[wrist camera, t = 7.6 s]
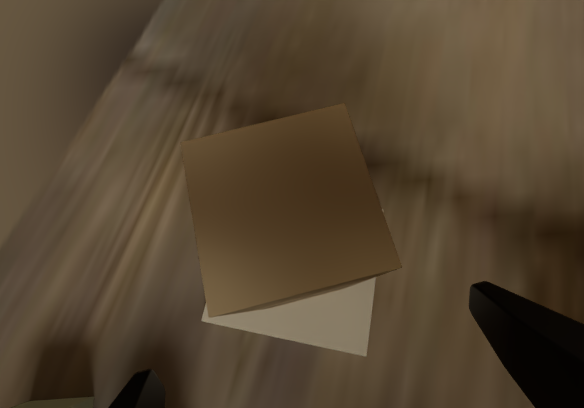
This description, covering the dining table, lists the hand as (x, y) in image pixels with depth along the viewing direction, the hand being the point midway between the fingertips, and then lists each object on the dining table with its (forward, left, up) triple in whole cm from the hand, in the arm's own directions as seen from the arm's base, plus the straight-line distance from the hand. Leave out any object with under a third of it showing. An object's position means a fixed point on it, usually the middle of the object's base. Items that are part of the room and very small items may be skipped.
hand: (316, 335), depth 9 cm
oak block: (+1, -3, -11) cm, 11 cm away
